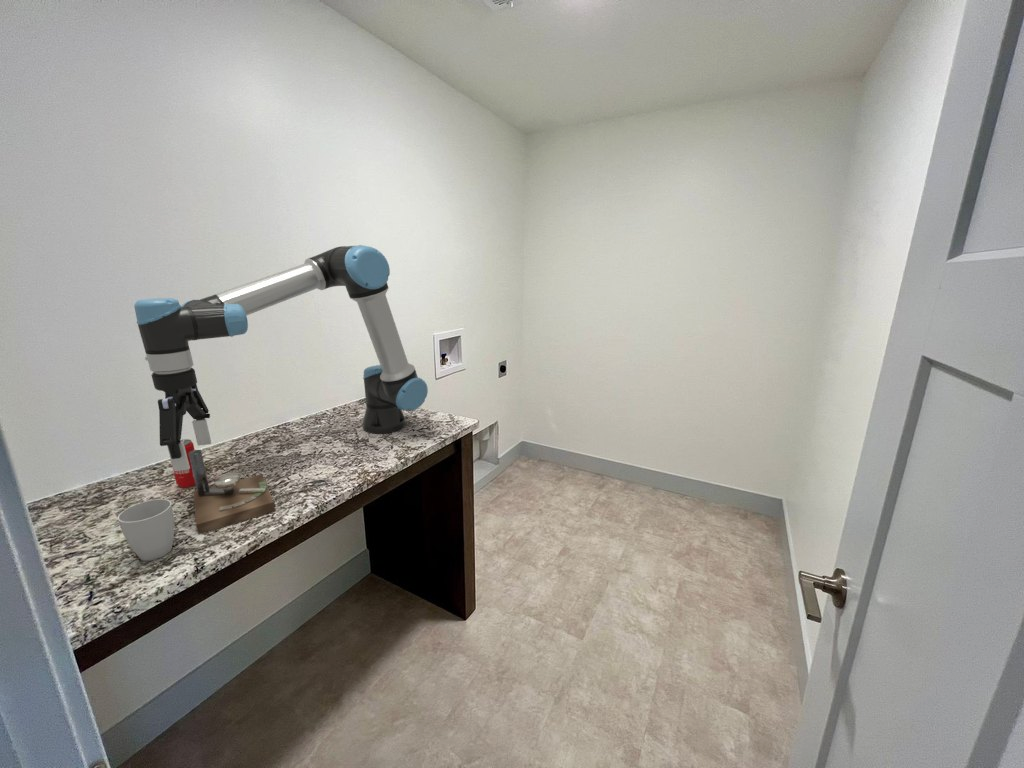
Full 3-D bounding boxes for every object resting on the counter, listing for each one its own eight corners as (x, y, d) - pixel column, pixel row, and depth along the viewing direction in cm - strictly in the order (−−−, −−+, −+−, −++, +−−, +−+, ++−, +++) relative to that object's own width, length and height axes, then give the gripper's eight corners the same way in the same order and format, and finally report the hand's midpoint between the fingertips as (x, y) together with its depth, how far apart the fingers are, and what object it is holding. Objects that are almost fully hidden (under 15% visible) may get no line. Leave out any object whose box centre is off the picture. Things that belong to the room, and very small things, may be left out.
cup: (150, 540, 88) (139, 499, 85) (190, 539, 88) (180, 498, 86) (118, 567, 80) (105, 523, 77) (162, 565, 81) (151, 521, 78)
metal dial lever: (205, 488, 103) (196, 447, 100) (269, 486, 104) (262, 446, 101) (191, 498, 98) (182, 456, 95) (259, 497, 99) (251, 455, 96)
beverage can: (205, 480, 112) (197, 440, 109) (186, 490, 107) (176, 448, 104) (192, 477, 113) (183, 437, 110) (172, 486, 109) (162, 445, 105)
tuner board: (263, 482, 112) (262, 473, 111) (275, 511, 99) (273, 500, 98) (195, 500, 103) (193, 490, 102) (198, 534, 90) (195, 523, 89)
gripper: (176, 358, 101) (195, 437, 107) (120, 387, 78) (148, 485, 84) (212, 356, 103) (229, 433, 109) (167, 384, 80) (191, 479, 87)
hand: (194, 456), depth 97 cm, fingers open, 13 cm apart
